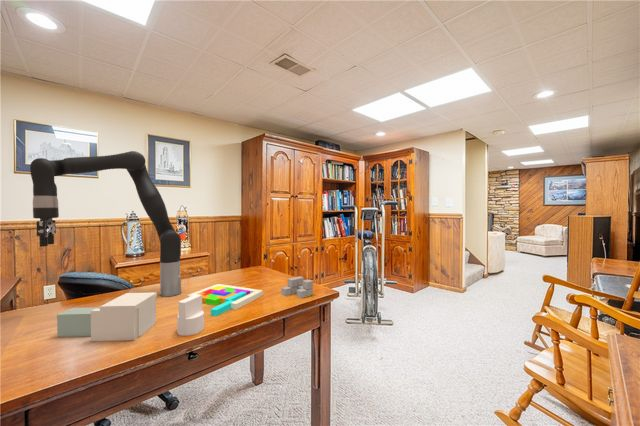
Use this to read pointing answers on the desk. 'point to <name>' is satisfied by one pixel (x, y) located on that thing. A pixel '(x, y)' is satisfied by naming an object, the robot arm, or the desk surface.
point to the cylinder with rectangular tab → (190, 316)
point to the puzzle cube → (298, 287)
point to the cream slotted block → (124, 317)
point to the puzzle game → (227, 297)
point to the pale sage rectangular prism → (74, 322)
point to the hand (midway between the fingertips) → (47, 245)
